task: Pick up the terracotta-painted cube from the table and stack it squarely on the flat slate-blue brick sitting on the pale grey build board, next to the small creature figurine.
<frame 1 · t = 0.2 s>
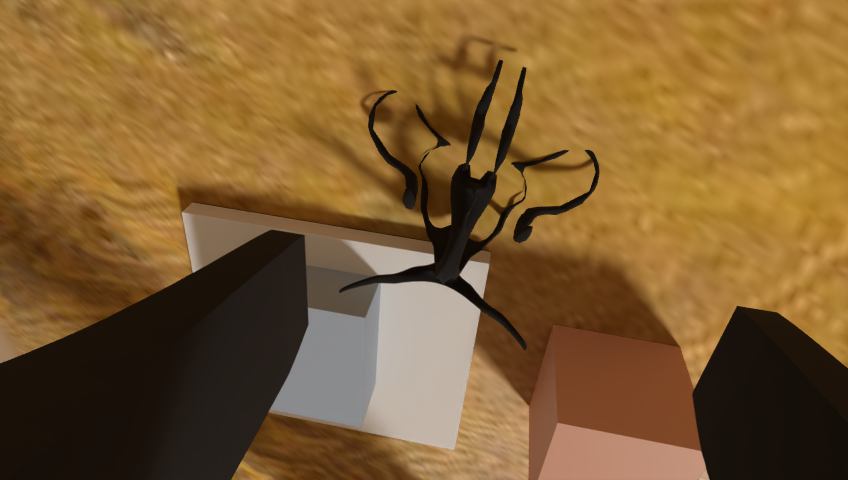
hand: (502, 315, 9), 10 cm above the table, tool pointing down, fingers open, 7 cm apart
base brick: (309, 322, 23), point 1 cm above the table, touching build board
creature: (477, 160, 19), on the table
build board: (337, 331, 24), on the table
top brick: (599, 377, 23), on the table
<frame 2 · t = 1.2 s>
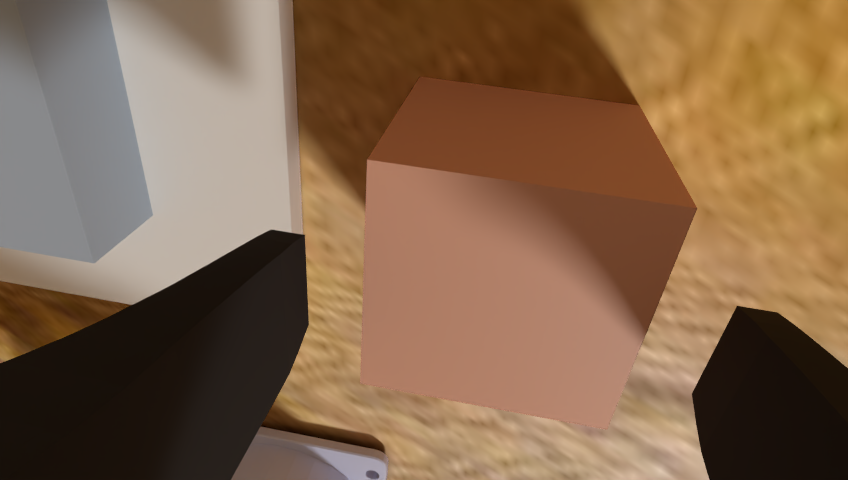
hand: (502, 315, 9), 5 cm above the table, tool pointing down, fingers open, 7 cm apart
base brick: (19, 94, 14), point 1 cm above the table, touching build board
build board: (88, 126, 15), on the table
top brick: (509, 186, 14), on the table
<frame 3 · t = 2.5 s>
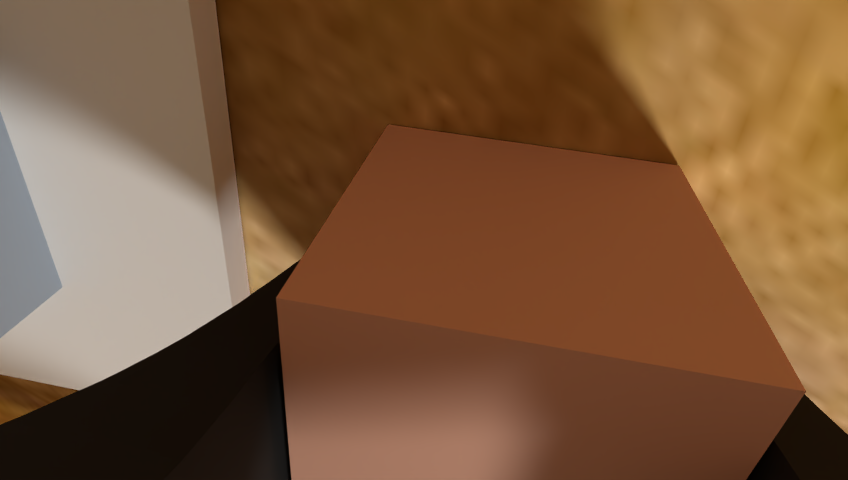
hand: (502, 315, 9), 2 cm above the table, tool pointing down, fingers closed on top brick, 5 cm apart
top brick: (505, 262, 11), on the table, touching gripper
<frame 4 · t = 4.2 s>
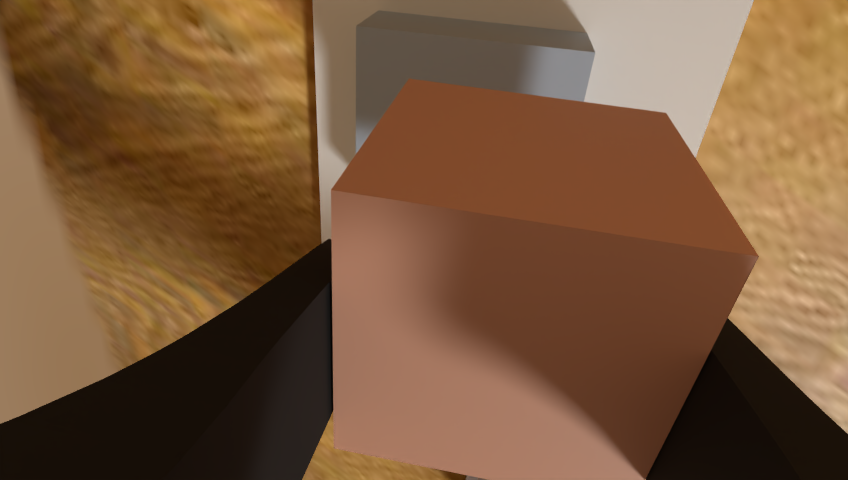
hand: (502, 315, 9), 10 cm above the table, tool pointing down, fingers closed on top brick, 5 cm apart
base brick: (468, 121, 17), point 1 cm above the table, touching build board
build board: (496, 145, 18), on the table
top brick: (512, 206, 12), point 7 cm above the table, touching gripper
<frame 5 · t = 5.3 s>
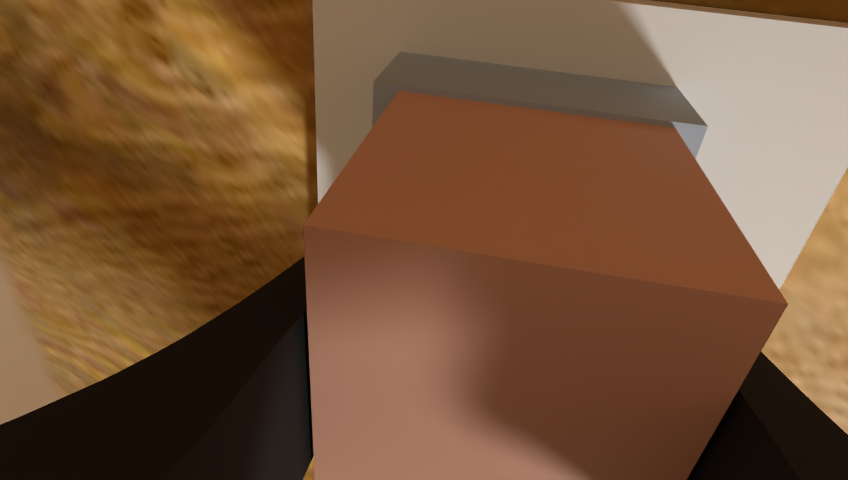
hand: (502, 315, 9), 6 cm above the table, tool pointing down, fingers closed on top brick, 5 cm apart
base brick: (511, 191, 13), point 1 cm above the table, touching build board, top brick
build board: (543, 216, 14), on the table
top brick: (510, 226, 11), point 3 cm above the table, touching base brick, gripper
when the fingers open (6 cm above the table, at t = 6.1 s): top brick stays where it is, resting on base brick.
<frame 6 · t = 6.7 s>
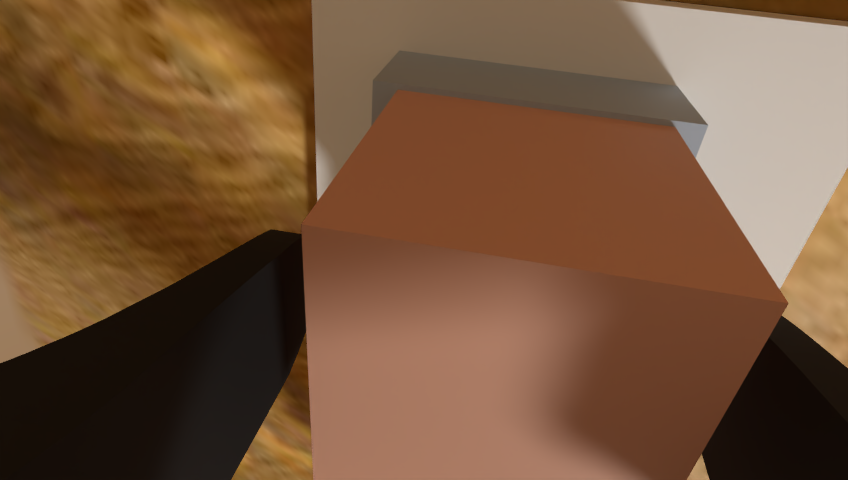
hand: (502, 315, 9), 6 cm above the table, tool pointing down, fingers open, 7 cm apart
base brick: (511, 190, 13), point 1 cm above the table, touching build board, top brick
build board: (543, 216, 14), on the table
top brick: (509, 225, 11), point 3 cm above the table, touching base brick
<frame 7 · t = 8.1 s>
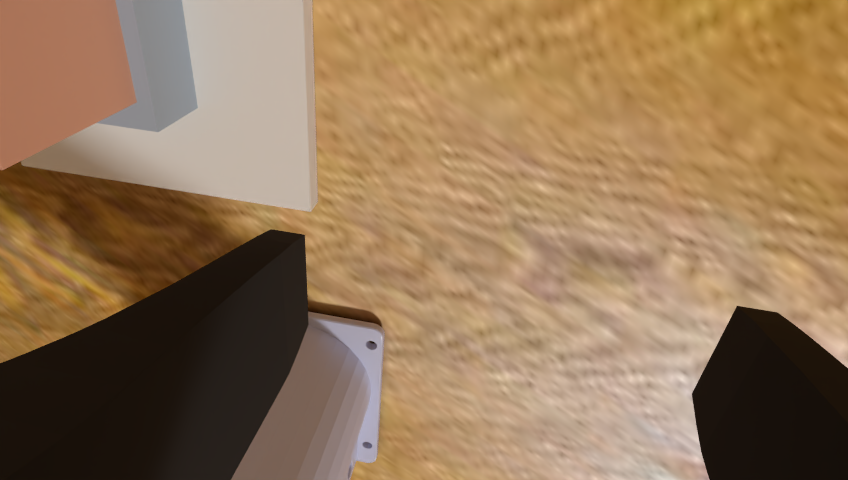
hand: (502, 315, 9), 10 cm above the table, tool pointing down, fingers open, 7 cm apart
base brick: (97, 6, 18), point 1 cm above the table, touching build board, top brick
build board: (147, 36, 19), on the table
top brick: (37, 5, 15), point 3 cm above the table, touching base brick
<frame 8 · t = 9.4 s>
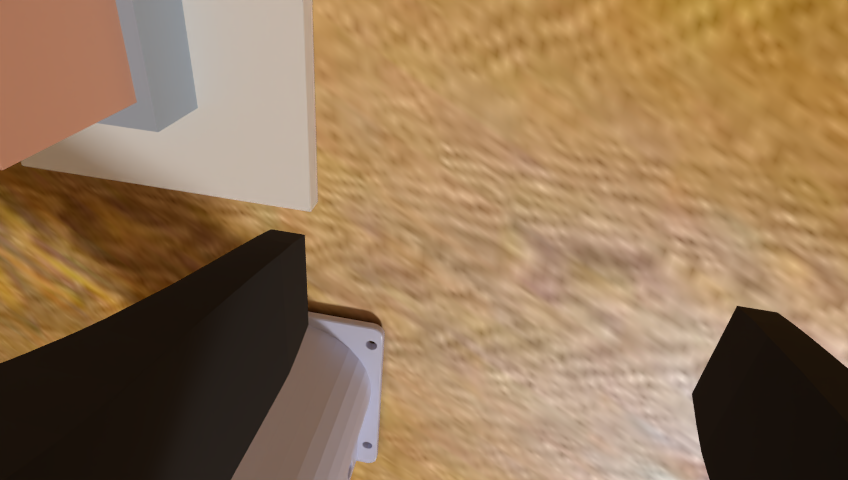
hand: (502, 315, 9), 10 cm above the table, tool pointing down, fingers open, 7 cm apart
base brick: (97, 6, 18), point 1 cm above the table, touching build board, top brick
build board: (147, 36, 19), on the table
top brick: (37, 5, 15), point 3 cm above the table, touching base brick
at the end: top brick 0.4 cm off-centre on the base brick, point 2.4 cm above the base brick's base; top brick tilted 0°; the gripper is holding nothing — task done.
